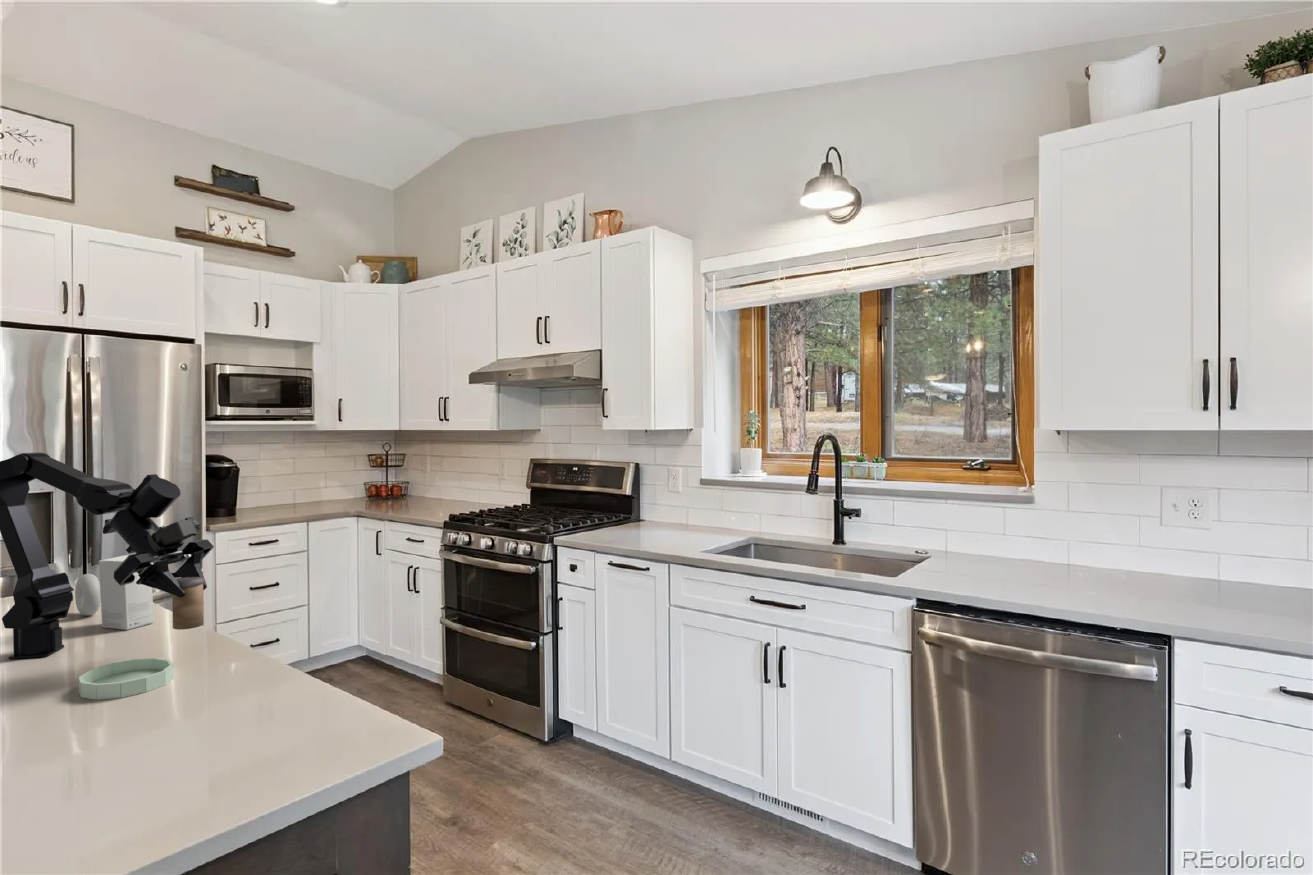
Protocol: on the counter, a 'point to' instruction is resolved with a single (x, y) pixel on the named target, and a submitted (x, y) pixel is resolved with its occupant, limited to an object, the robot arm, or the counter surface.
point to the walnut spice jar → (188, 604)
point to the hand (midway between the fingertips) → (194, 592)
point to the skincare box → (123, 599)
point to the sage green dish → (125, 678)
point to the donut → (87, 594)
